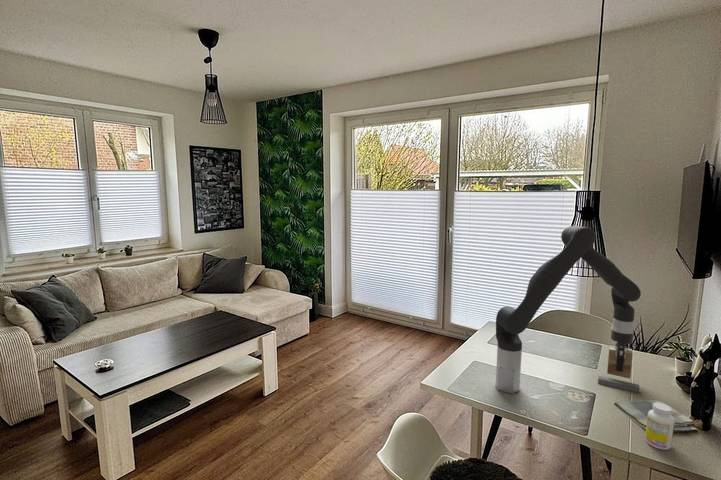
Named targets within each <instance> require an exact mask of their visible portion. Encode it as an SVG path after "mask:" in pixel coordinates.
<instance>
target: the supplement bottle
mask: <svg viewBox="0 0 721 480" xmlns="http://www.w3.org/2000/svg"><path fill="white" fill-rule="evenodd" d="M663 403H664V402H662V403H653V409H652V410H650V411H649V412H648V417H647V426H646V431H645V435H644V436H645V437H644V439H645V441H646V443H647V444H648V445H650V446H651V447H653V448H656V449H659V450H662V451H663V450H667V451H669V450H670V449H671V448H672V444H673V436H674V432H673V429H674V422H675V420H674V418H673V416H672V415H670V414H671V413H672V409H671V408H672V407H671V406H669V405H668V404H666V403H664V404H663Z"/></svg>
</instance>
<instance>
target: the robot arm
mask: <svg viewBox="0 0 721 480" xmlns="http://www.w3.org/2000/svg"><path fill="white" fill-rule="evenodd" d="M596 239H597V238H596V232H595V230H594V229H593V228H591V227H588V226H580V225H579V226H578V225H570V226H567V227H565V228H564V229H563V231H562V232H561V241H562V244H563V245H565V247H564V248H563V249H562V250H561V251H560V252H559V253H557V254H555V256H553V257H552V258H550V259H549V260H547V261H546V262H544V263H543V264H542V265H540V266H539V267H538V268H537V270H536V271H534V274H533V275H532V276H531V278H530V279H529V281H528V285H527V289H526V292H525V296H524V298H523V300H522V301H521V303H520V304H519V305H518V306H517V307H516V308H514V307H512V306H508V305H506V306H502V307H501V308H500V309H499V310H498V311H497V313H496V317H495V318H496V319H495V339H496V342H497V348H496V351H497V352H496V368H495V369H496V372H495V387H496V389H497V390H498V391H501V392H504V393H508V394H512V395H513V394H514V393H517V392H519V391H520V389H521V372H522V371H521V369H522V355H523V354H522V353H523V352H522V351H523V343H522V340H521V338H520V336H519V334H521V333H523V332H524V331H525V330H526V328H528V326H529V324H530V323H531V321H532V320H533V318H534V317H535V315H536V313H537V312H538V311H539V309H540V308H541V307H542V305H543V304H544V303H545V302H546V300H547V298H548V297H549V296H550V295H551V294H552V293H553V292H554V290H555V289H556V288H557V287H558V285H559V284H560V283H561V282H562V280H563V279H564V277H566V275H567V274H568V273H569V271H570V270H571V269H572V268H573V267H574V266H575V264H576V263H577V262H578V261H579V260H581V259H582V260H583V261H584V262H585V263H587V265H588V266H589V267H590V268H591V269H592V270H594V272H595V273H596V274H597V275H598V276H599V278H600V279H602V281H603V282H605V283H606V284H607V285H608V286H610V287H611V290H610V291H611V292H610V293H611V295H610V296H611V299H612V305H613V317H612V323H611V333H610V339H611V340H612V341H613V342H615V344H614V346H615V349H616V354H615V355H616V357H617V360H616V362H617V363H616V371H619V372H622V370H623V364H624V358H625V356H626V351H627V348H628V346H627V345H628V344H633V340H634V332H635V331H634V329H635V328H634V327H635V323H634V320H635V308H634V307H633V306H632V305H631V304H630V302H636V301H638V300H639V299H640V298H641V294H642V292H641V289H640V287H639V286H638V285H637V284H636V283H635V282H634V281H632V280H631V279H630V278H628V276H625V274H624V273H622V271H621V270H620V269H619V268H618V267H617V266H616V264H614V262H612V261H611V260H610V259H609V258H607V257H606V256H604V255H603V254H602V253H601V252H599V251H598V250H596V248H594V247H593V246H594V243H595V242H596ZM617 349H618V351H617ZM618 359H622V360H618Z"/></svg>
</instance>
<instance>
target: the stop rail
mask: <svg viewBox="0 0 721 480" xmlns="http://www.w3.org/2000/svg"><path fill="white" fill-rule="evenodd" d="M597 384H601V385H604V386H609V387H614V388H618V389H621V390H625V391H629V392H630V391H631V392H635V393H639V394H640V384H638V383H637V384H636V383H634V382H629V381H623V380H619V379H615V378H610V377H606V376H601V375H598V377H597Z"/></svg>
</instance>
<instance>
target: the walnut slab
mask: <svg viewBox="0 0 721 480" xmlns="http://www.w3.org/2000/svg"><path fill="white" fill-rule="evenodd" d="M617 351H618V349H617ZM615 354H616V349H615V345H611V344H610V345H609V346H608V357H607V358H608V359H607V369H606V370H607V371H606V374H607V375H612V376H616V377H620V378H621V377H622V378H626V379H631V376H632V365H633V355H634V353H633V349H632V348H628V347H627V351H626V356H625V358H624V364H623V370H622V372H619V371H616V363H617V362H616V360H617V357H616V355H615ZM618 360H622V359H618Z"/></svg>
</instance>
